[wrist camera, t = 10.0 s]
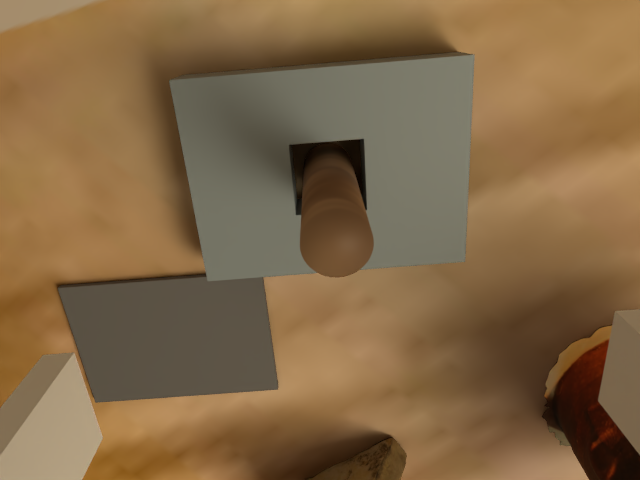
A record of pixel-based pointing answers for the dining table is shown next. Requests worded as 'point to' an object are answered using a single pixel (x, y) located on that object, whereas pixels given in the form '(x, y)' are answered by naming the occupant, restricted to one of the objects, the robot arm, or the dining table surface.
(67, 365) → the robot arm
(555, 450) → the dining table surface
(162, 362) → the mat
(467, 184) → the block
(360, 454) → the rock
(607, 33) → the dining table surface
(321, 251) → the peg
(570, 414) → the vessel
